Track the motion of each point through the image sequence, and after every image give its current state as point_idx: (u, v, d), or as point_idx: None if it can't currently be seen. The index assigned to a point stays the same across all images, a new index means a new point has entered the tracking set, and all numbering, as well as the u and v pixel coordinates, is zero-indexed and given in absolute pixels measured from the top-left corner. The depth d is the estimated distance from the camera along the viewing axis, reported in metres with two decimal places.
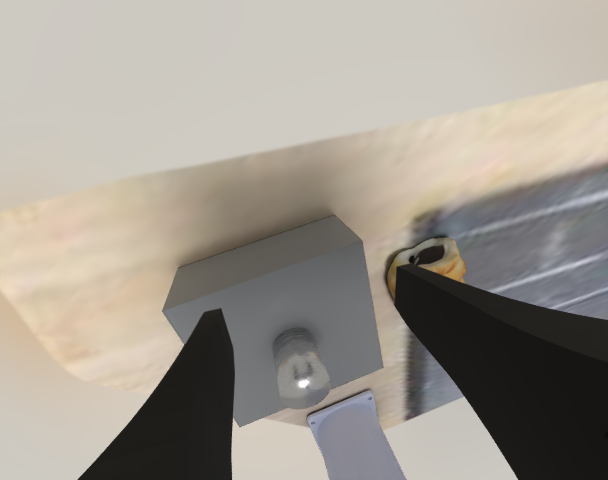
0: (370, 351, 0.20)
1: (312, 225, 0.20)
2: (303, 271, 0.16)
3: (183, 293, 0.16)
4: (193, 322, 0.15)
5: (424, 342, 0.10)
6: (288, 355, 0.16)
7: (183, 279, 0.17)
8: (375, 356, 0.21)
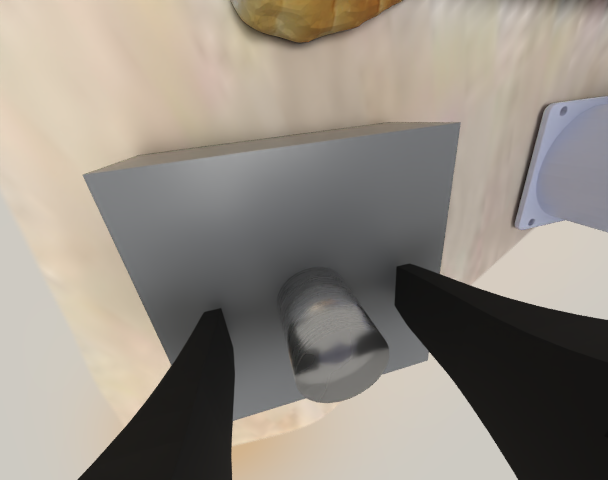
0: (397, 155, 0.09)
1: None
2: (159, 285, 0.09)
3: None
4: None
5: (423, 342, 0.10)
6: None
7: None
8: (417, 143, 0.09)
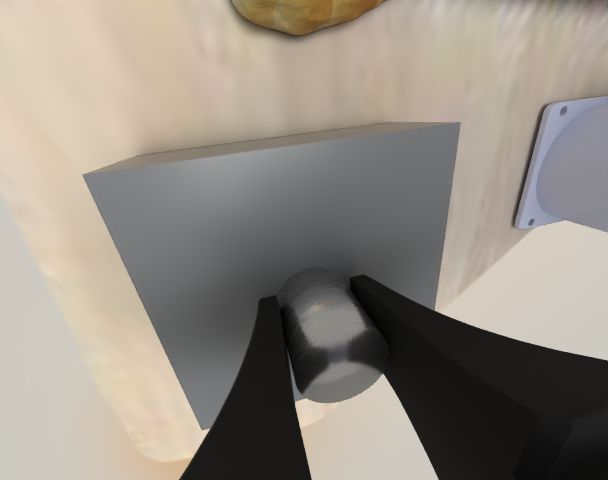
0: (397, 155, 0.09)
1: None
2: (159, 286, 0.09)
3: None
4: None
5: None
6: None
7: None
8: (417, 143, 0.09)
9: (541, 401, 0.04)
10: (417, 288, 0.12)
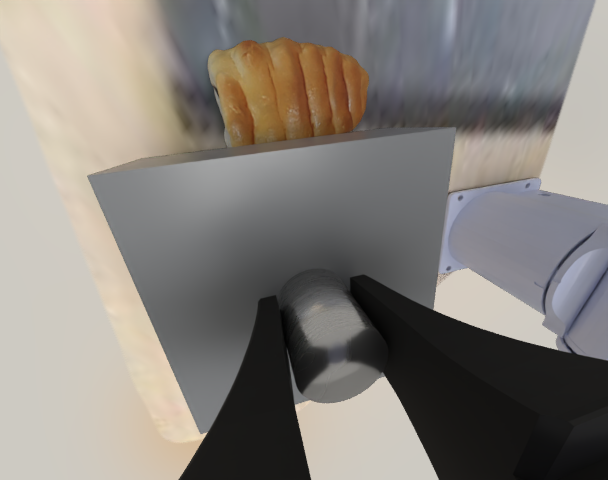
0: (395, 159, 0.10)
1: None
2: (160, 286, 0.09)
3: None
4: None
5: None
6: None
7: None
8: (414, 147, 0.10)
9: (541, 401, 0.04)
10: (415, 290, 0.12)
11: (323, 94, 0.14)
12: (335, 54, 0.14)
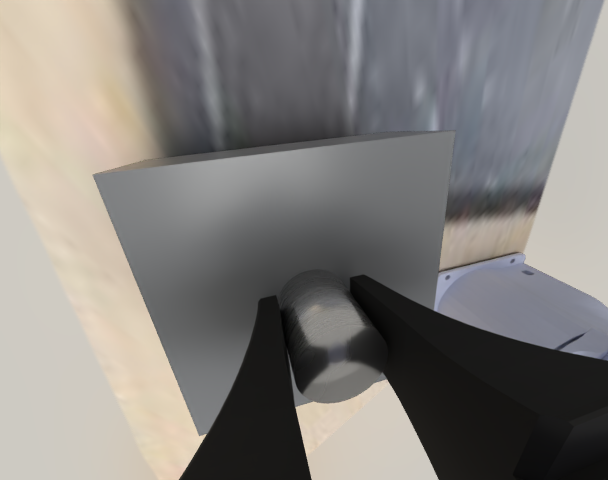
0: (395, 161, 0.10)
1: None
2: (161, 285, 0.09)
3: None
4: None
5: None
6: None
7: None
8: (414, 149, 0.10)
9: (541, 401, 0.04)
10: (416, 292, 0.12)
11: None
12: None
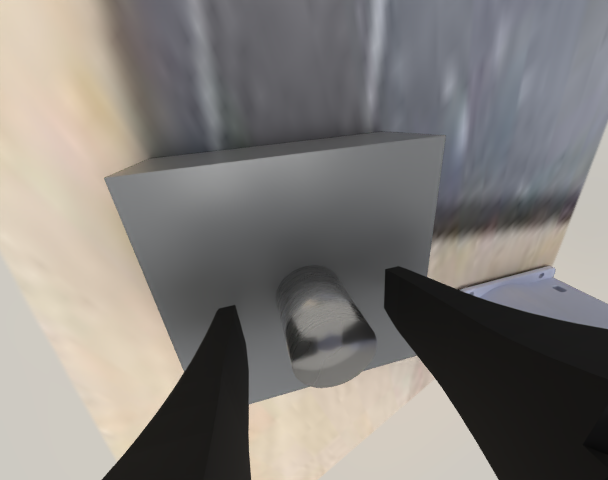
0: (387, 164, 0.10)
1: None
2: (168, 280, 0.10)
3: None
4: None
5: (412, 346, 0.10)
6: None
7: None
8: (406, 153, 0.10)
9: None
10: None
11: None
12: None
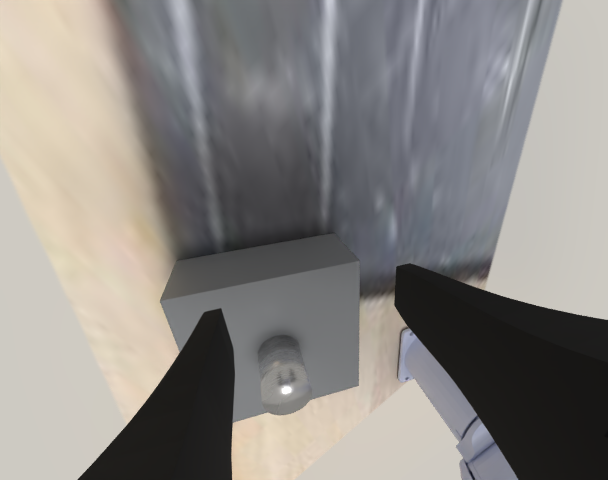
0: (324, 278, 0.17)
1: None
2: None
3: None
4: None
5: (424, 342, 0.10)
6: None
7: None
8: (335, 272, 0.17)
9: None
10: (345, 343, 0.20)
11: None
12: None
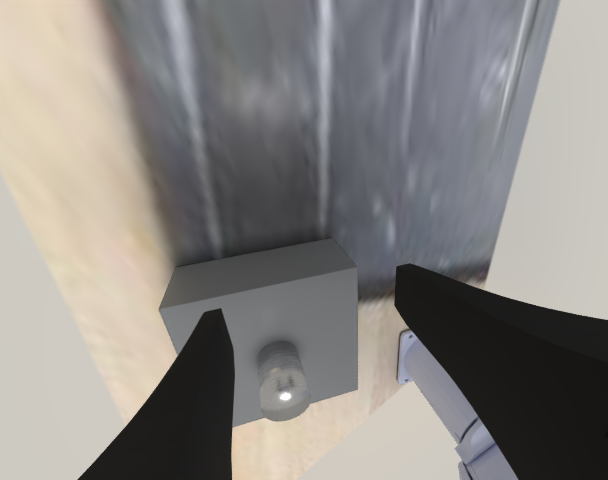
0: (322, 285, 0.17)
1: None
2: None
3: None
4: None
5: (423, 342, 0.10)
6: None
7: None
8: (333, 278, 0.17)
9: None
10: (344, 348, 0.20)
11: None
12: None
